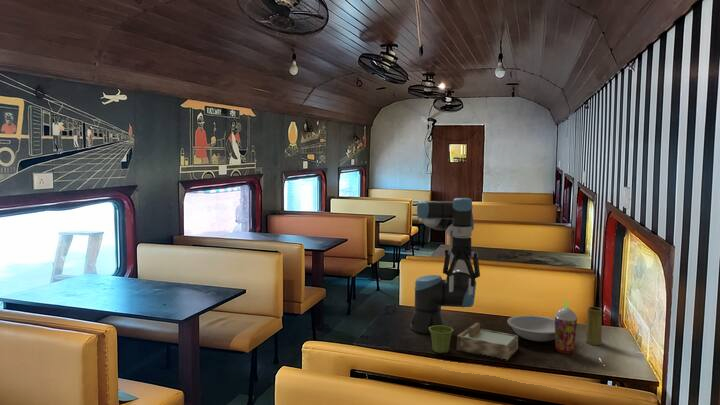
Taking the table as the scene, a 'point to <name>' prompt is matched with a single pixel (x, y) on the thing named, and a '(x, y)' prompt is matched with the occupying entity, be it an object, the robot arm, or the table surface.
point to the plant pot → (440, 338)
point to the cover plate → (488, 335)
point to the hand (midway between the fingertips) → (460, 292)
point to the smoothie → (565, 330)
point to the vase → (594, 326)
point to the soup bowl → (533, 327)
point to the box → (486, 345)
